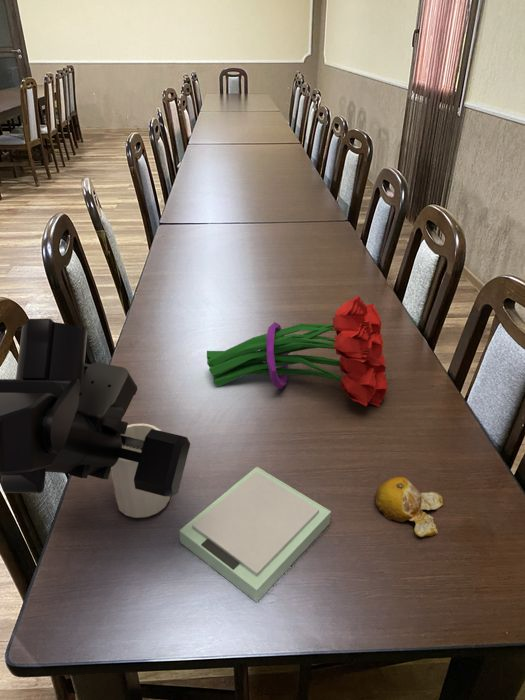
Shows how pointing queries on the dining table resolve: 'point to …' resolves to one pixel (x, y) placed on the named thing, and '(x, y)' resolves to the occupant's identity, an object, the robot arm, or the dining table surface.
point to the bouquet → (350, 342)
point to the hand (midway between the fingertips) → (135, 453)
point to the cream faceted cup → (123, 481)
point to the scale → (255, 531)
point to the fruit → (408, 504)
